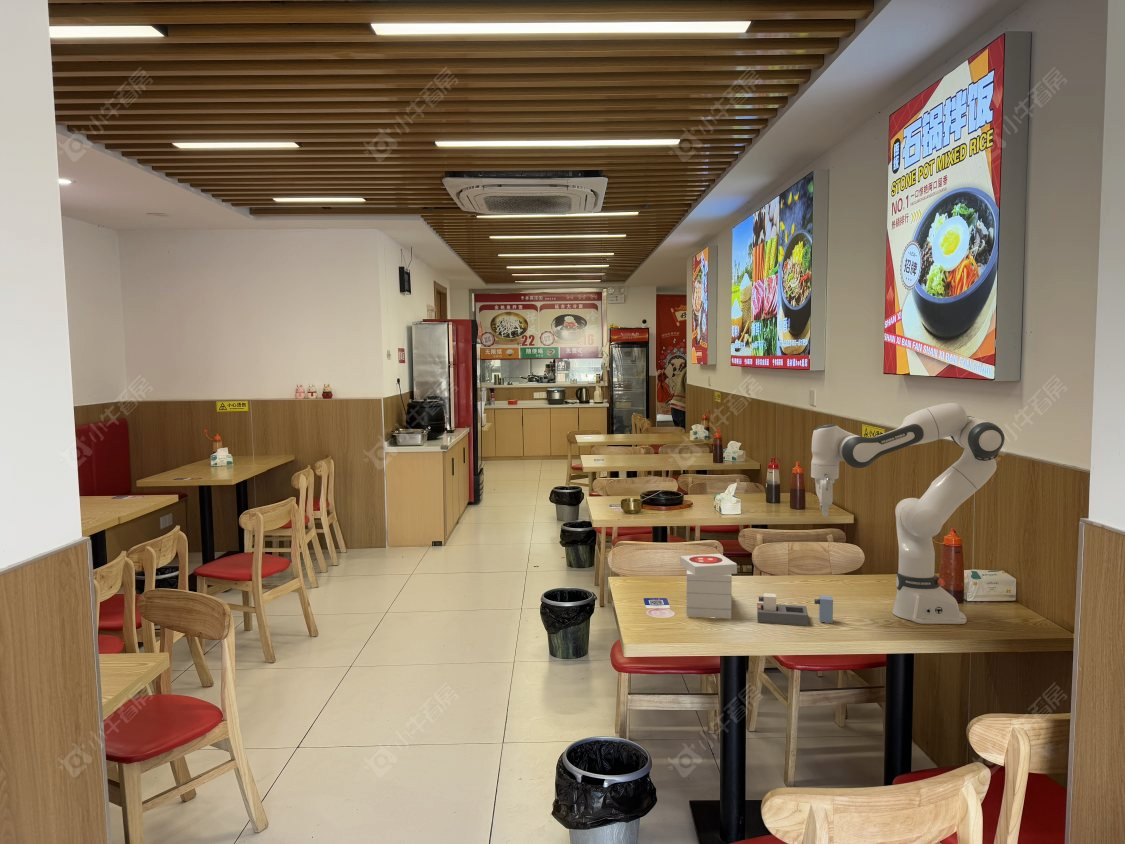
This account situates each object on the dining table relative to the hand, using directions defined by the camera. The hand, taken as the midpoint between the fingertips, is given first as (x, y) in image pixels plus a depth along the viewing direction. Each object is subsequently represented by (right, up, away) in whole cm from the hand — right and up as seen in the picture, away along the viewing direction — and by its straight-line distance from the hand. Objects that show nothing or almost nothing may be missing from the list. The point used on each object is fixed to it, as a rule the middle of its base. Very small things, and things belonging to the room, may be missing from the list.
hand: (823, 513), depth 259 cm
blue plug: (-1, -35, -5) cm, 36 cm away
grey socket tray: (-15, -35, -2) cm, 38 cm away
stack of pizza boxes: (-37, -35, +12) cm, 52 cm away
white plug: (-19, -35, -1) cm, 40 cm away
